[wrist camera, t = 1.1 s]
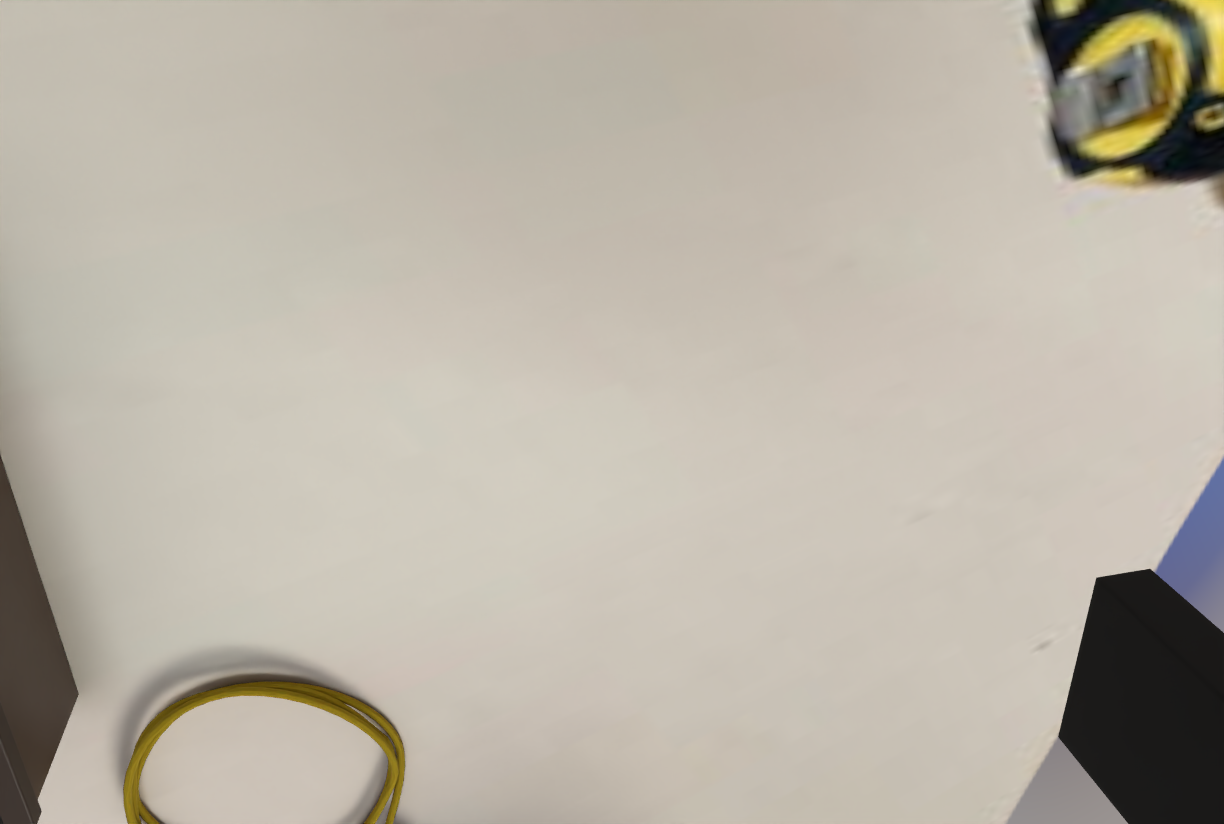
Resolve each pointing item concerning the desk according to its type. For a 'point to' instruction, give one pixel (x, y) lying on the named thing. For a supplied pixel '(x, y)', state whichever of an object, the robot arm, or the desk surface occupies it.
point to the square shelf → (27, 672)
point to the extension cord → (285, 690)
